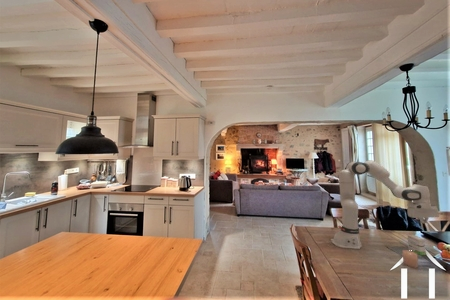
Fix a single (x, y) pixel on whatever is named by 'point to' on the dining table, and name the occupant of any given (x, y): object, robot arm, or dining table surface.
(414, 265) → the brown rounded lump
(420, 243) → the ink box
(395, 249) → the mat
